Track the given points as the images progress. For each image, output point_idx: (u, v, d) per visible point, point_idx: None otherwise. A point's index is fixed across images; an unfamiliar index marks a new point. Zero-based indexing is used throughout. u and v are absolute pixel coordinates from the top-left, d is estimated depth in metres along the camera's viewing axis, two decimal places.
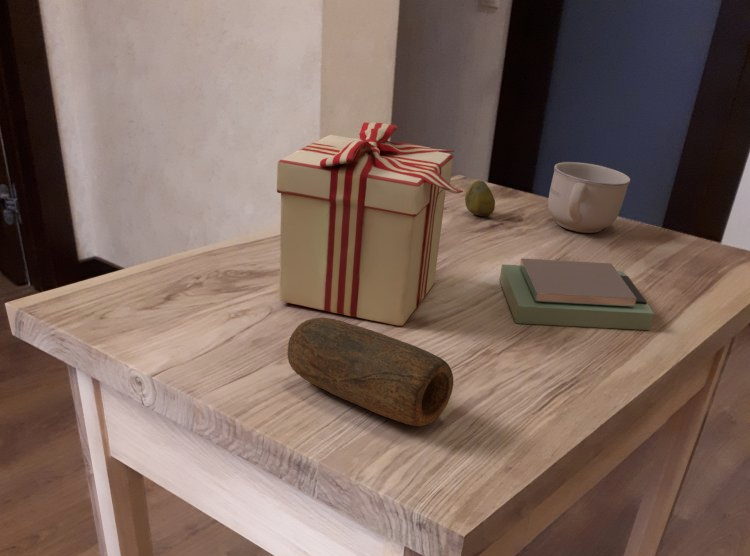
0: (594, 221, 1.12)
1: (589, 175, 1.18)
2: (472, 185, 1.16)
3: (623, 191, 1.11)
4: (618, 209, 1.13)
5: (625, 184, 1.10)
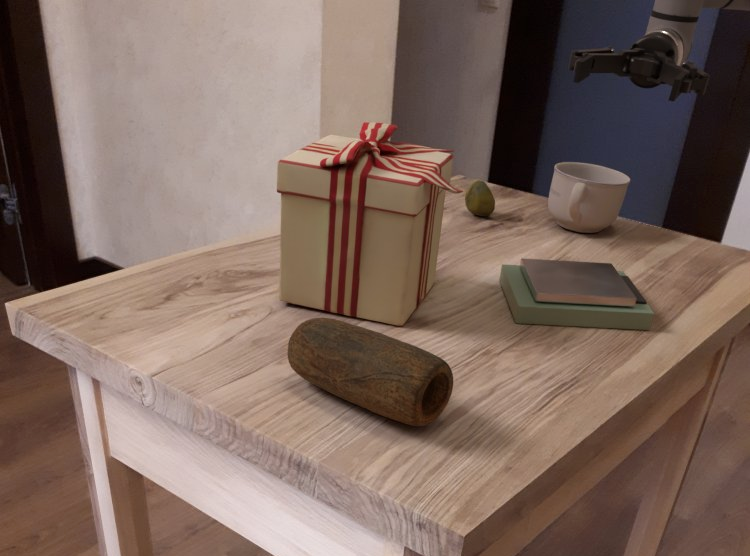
0: (594, 221, 1.12)
1: (589, 175, 1.18)
2: (472, 185, 1.16)
3: (623, 191, 1.11)
4: (618, 209, 1.13)
5: (625, 184, 1.10)
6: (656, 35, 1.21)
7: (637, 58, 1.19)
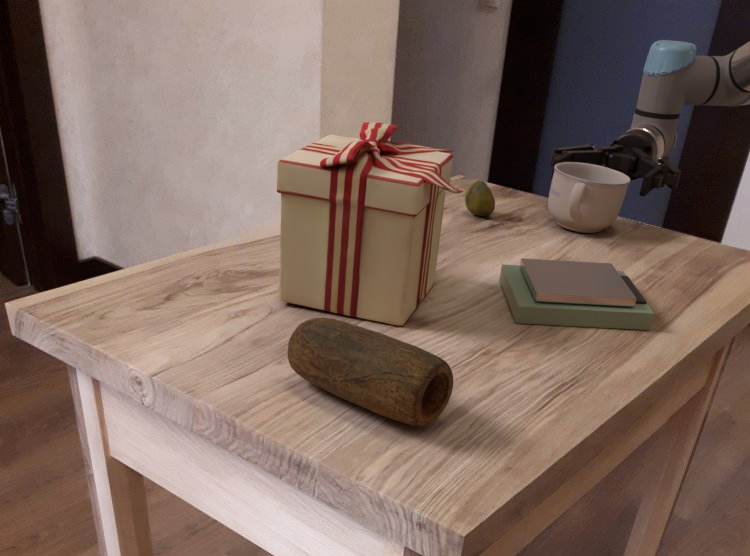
0: (594, 221, 1.12)
1: (589, 175, 1.18)
2: (472, 185, 1.16)
3: (623, 191, 1.11)
4: (618, 209, 1.13)
5: (625, 184, 1.10)
6: (634, 133, 1.28)
7: (615, 154, 1.26)
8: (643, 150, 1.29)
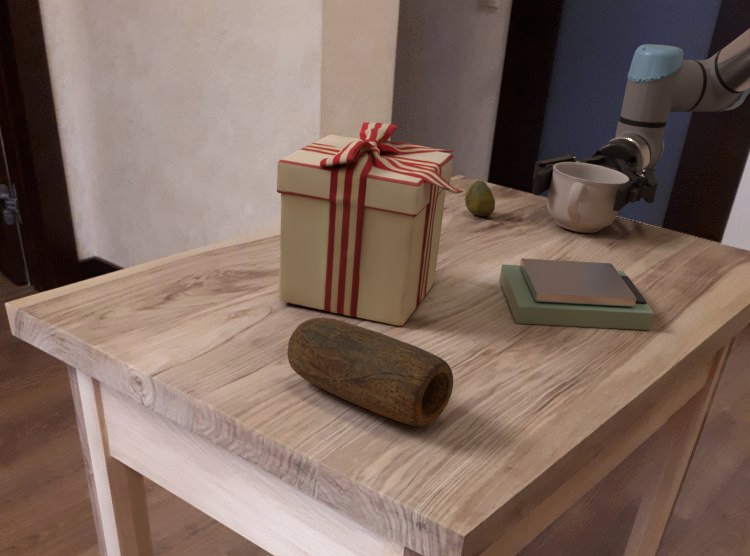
0: (592, 221, 1.12)
1: (589, 175, 1.18)
2: (472, 185, 1.16)
3: None
4: None
5: (624, 184, 1.10)
6: (618, 142, 1.21)
7: None
8: (627, 161, 1.21)
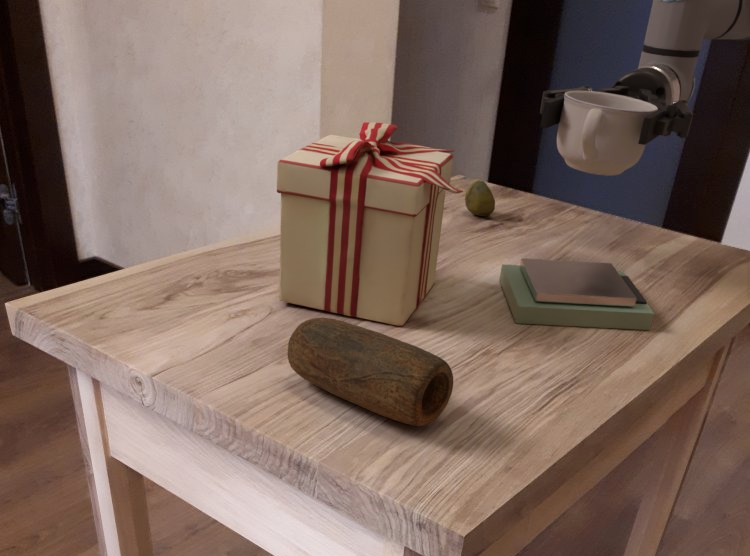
0: (613, 159, 0.91)
1: None
2: (472, 185, 1.16)
3: None
4: (643, 145, 0.92)
5: (652, 112, 0.90)
6: (643, 71, 1.00)
7: None
8: (654, 93, 1.01)
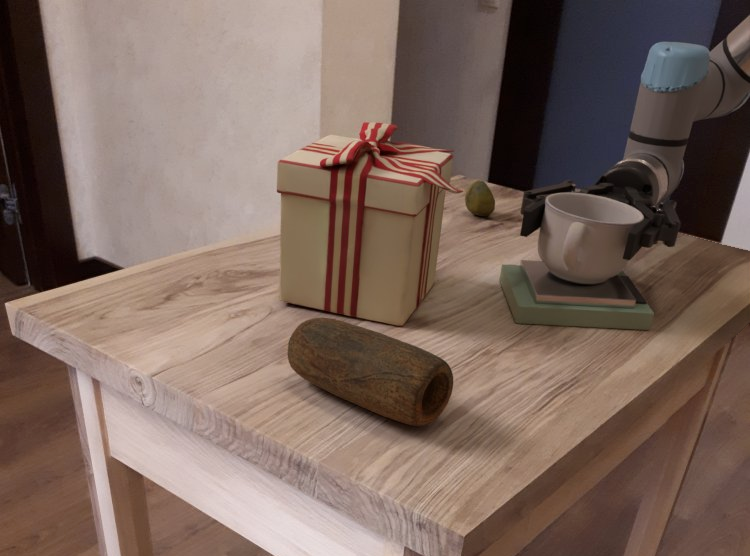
0: (596, 270, 0.87)
1: (591, 209, 0.92)
2: (472, 185, 1.16)
3: None
4: None
5: (637, 223, 0.85)
6: (628, 166, 0.96)
7: (602, 196, 0.94)
8: (640, 190, 0.96)
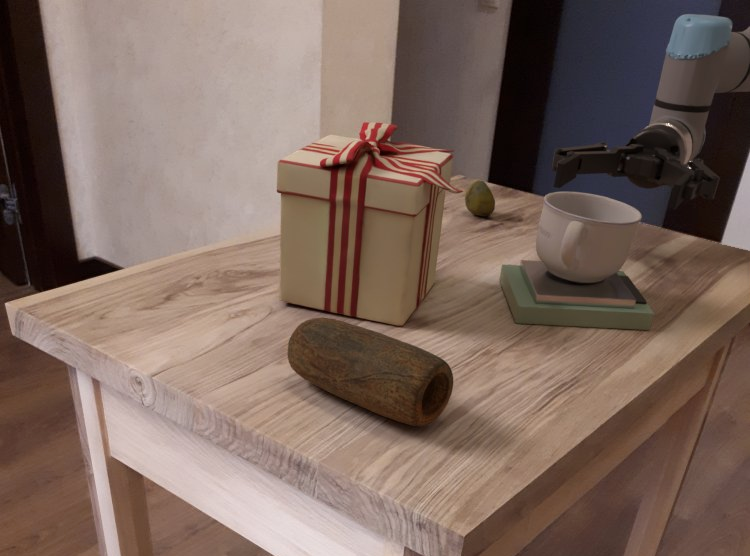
0: (594, 269, 0.87)
1: (589, 208, 0.92)
2: (472, 185, 1.16)
3: (632, 232, 0.86)
4: (626, 254, 0.88)
5: (635, 222, 0.85)
6: (657, 129, 1.02)
7: (634, 156, 1.01)
8: (668, 151, 1.03)
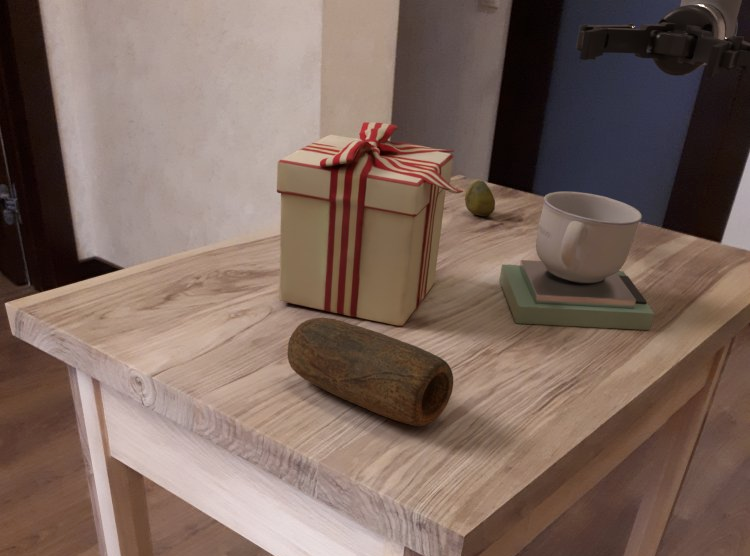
0: (594, 269, 0.87)
1: (589, 208, 0.92)
2: (472, 185, 1.16)
3: (632, 232, 0.86)
4: (626, 254, 0.88)
5: (635, 222, 0.85)
6: (689, 7, 0.96)
7: (664, 33, 0.94)
8: (701, 30, 0.96)
